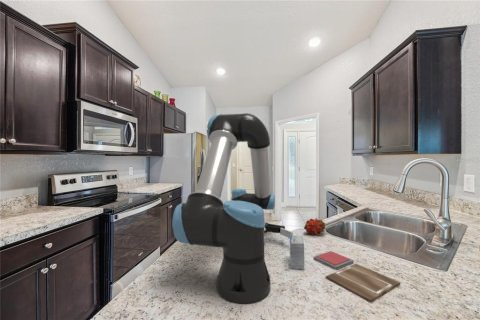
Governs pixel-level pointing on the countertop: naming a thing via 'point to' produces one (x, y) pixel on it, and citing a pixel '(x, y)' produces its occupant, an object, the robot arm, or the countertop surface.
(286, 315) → the countertop surface
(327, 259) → the ink pad
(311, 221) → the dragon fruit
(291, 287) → the countertop surface
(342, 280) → the cutting board
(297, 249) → the medicine box
